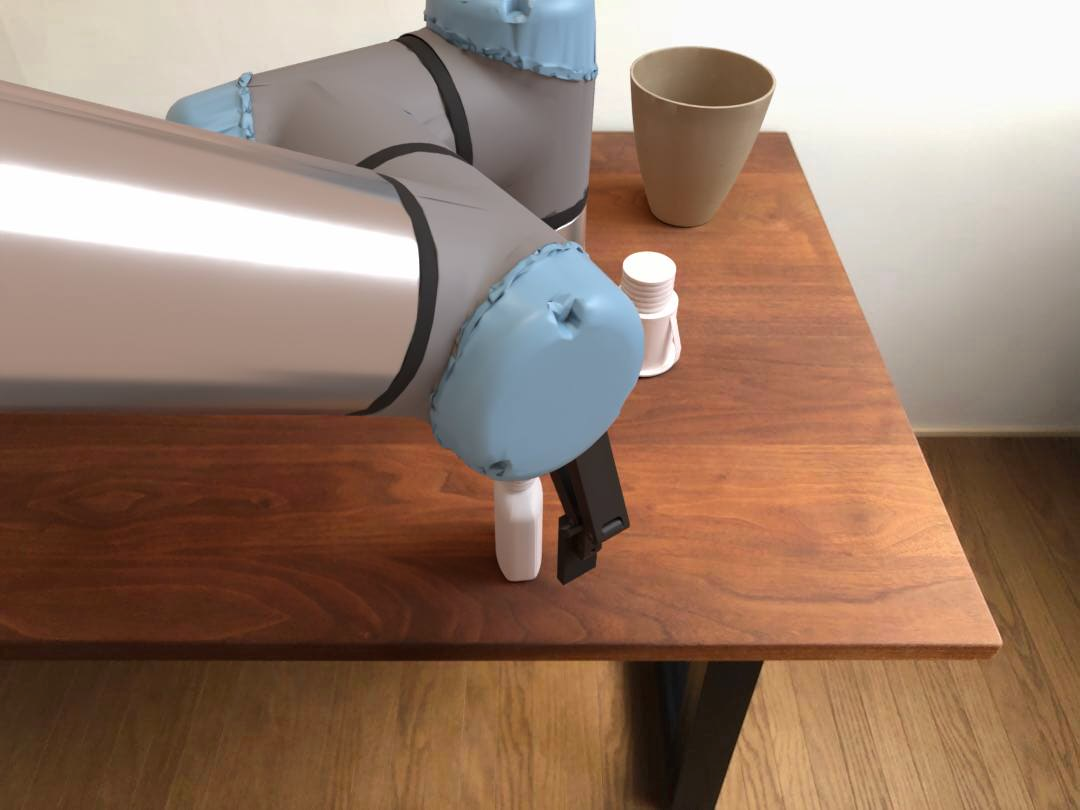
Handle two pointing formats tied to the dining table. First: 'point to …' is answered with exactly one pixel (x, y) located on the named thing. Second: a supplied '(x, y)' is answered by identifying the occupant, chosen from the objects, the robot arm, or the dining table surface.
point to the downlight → (654, 307)
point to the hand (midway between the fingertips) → (521, 506)
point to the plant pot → (695, 126)
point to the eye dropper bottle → (518, 527)
